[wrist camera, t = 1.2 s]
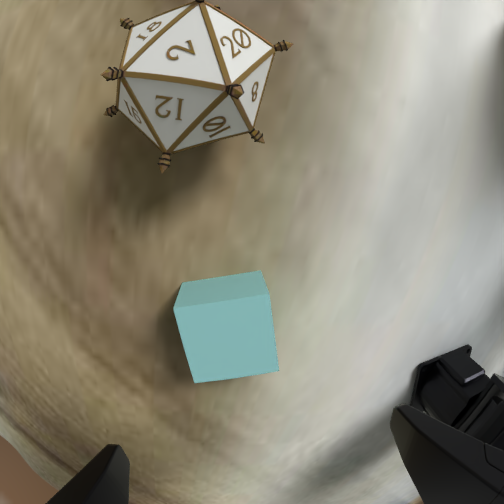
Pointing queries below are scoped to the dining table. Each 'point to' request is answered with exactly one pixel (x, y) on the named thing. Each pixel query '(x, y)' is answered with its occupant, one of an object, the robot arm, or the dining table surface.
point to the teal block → (227, 327)
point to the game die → (192, 77)
